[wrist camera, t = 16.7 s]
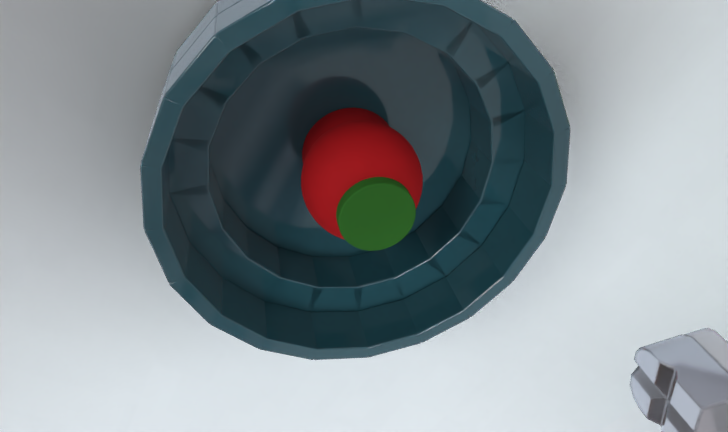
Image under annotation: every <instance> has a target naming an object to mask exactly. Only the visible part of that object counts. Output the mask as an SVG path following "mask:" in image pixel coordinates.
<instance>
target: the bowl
mask: <svg viewBox="0 0 728 432" xmlns="http://www.w3.org/2000/svg"><path fill="white" fill-rule="evenodd" d="M344 108H362V109H366V110H369V111H372V112H374V113H375V114H377V115H379V116H380V117H381V118H383V119H384V120H385V121H386V122H387V124H388V125H389V126H390V127H391V128H393V129H394V130H396V131H397V132H398V133H400V134H401V135H402V136H403V137H404V138H405V139H406V140H407V141H408V142H409V143H410V145H411V146H412V147H413V149H414V151H415V153H416V154H417V157H418V159H419V162H420V165H421V169H422V175H423V186H422V194H421V197H420V201H419V203H418V206H417V208H416V216H415V221H414V224H413V226H412V228H411V230H410V231H409V233H408V234H407V235H406V236H405V237H404V238H403V239H402V240H401V241H399V242H398V243H397V244H395V245H393V246H391V247H389V248H386V249H382V250H376V251H367V250H362V249H358V248H356V247H354V246H352V245H351V244H349V243H348V242H347V241H346V240H344V239H341V238H339V237H336V236H334V235H332V234H331V233H329V232H328V231H326V230H325V229H324V228H322V227H321V226H320V225H319V224H318V223H317V222H316V221H315V219H314V218H313V217H312V215H311V214H310V212H309V210H308V209H307V207H306V204H305V201H304V198H303V195H302V189H301V174H302V168H303V160H302V149H303V144H304V141H305V138H306V136H307V134H308V132H309V131H310V129H311V128H312V127H313V125H314V124H315V123H316V122H317V121H318V120H320V119H321V118H322V117H324V116H325V115H327V114H329V113H331V112H333V111H336V110H339V109H344ZM569 140H570V125H569V122H568V118H567V115H566V111H565V108H564V104H563V101H562V97H561V94H560V90H559V87H558V83H557V80H556V76H555V73H554V71H553V68H552V67H551V66H550V64H549V63H548V62H547V61H546V59H545V58H544V57H543V56H542V54H541V53H540V52H539V50H538V49H537V48H536V47H535V45H534V44H533V43H532V41H531V40H530V39H529V38H528V36H527V35H526V34H525V33H524V31H523V30H522V29H521V27H520V26H519V25H518V24H517V22H516V21H515V20H513V19H512V18H511V17H509V16H508V15H506V14H504V13H502V12H501V11H499V10H497V9H495V8H494V7H492V6H490V5H488V4H487V3H485V2H483V1H481V0H219V1H218V2H216V3H215V4H214V6H213V7H212V8H211V9H210V11H209V12H208V13H207V14H206V15H205V17H204V18H203V19H202V20H201V22H200V23H199V24H198V25H197V27H196V28H195V29H194V30H193V32H192V33H191V34H190V35H189V36H188V38H187V39H186V40H185V41H184V43H183V44H182V45H181V46H180V48H179V49H178V50H177V53H176V54H175V56H174V59H173V62H172V65H171V68H170V71H169V74H168V77H167V80H166V83H165V86H164V89H163V92H162V94H161V97H160V100H159V103H158V106H157V109H156V113H155V116H154V120H153V123H152V126H151V130H150V133H149V137H148V140H147V143H146V147H145V150H144V153H143V157H142V160H141V165H140V172H141V190H142V208H143V226H144V230H145V233H146V235H147V237H148V239H149V242H150V244H151V246H152V248H153V250H154V252H155V254H156V257H157V259H158V261H159V263H160V265H161V267H162V269H163V272H164V274H165V276H166V278H167V280H168V282H169V283H170V286H171V287H172V288H173V289H174V290H175V291H177V292H178V293H179V294H180V295H181V296H182V297H183V298H184V299H185V300H186V301H187V302H188V303H189V304H190V305H191V306H192V307H193V308H194V309H195V310H196V311H197V312H198V313H199V314H200V315H201V316H202V317H203V318H204V319H205V320H206V321H207V322H208V323H209V324H211V325H212V326H214V327H216V328H218V329H220V330H222V331H224V332H226V333H228V334H230V335H232V336H234V337H236V338H238V339H240V340H242V341H244V342H246V343H248V344H250V345H252V346H254V347H256V348H258V349H261V350H265V351H270V352H276V353H281V354H286V355H291V356H296V357H301V358H306V359H311V360H313V359H314V360H322V359H345V358H367V357H372V356H376V355H379V354H383V353H387V352H390V351H394V350H398V349H401V348H405V347H409V346H412V345H416V344H420V343H421V342H424V341H426V340H428V339H430V338H432V337H434V336H436V335H438V334H440V333H442V332H444V331H446V330H448V329H449V328H451V327H453V326H455V325H457V324H459V323H461V322H463V321H465V320H467V319H469V318H470V317H472V316H473V315H474V314H475V313H476V312H478V311H479V310H480V309H481V308H482V307H484V306H485V305H486V304H487V303H488V302H489V301H491V300H492V299H493V298H494V297H495V296H497V295H498V294H499V293H500V292H501V291H503V290H504V289H505V288H506V287H507V286H509V285H510V284H511V283H512V281H514V280H515V278H516V277H517V276H518V274H519V273H520V271H521V270H522V269H523V267H524V266H525V265H526V263H527V262H528V261H529V259H530V258H531V257H532V255H533V254H534V253H535V251H536V250H537V249H538V247H539V246H540V244H541V243H542V242H543V240H544V239H545V237H546V236H547V233H548V230H549V228H550V225H551V223H552V220H553V218H554V215H555V213H556V210H557V207H558V205H559V202H560V200H561V197H562V195H563V192H564V190H565V187H566V184H567V169H568V154H569Z"/></svg>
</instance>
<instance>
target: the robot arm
mask: <svg viewBox="0 0 728 432" xmlns="http://www.w3.org/2000/svg"><path fill="white" fill-rule="evenodd" d="M634 360H635V362H636V363H637V364H638V365H639V366H638V367H637V368H636V370H635V371H634V372H633V373H632V374H631V381H630V387H631V391H632V394H633V398H634V400H635V401H636V403H637V405H638V407H639V409H640V410H641V411H642V413H643V414H644V415H645V417H646V418H647V419H649V420H651V421H653V422H655V423H657V424H659V425H661V432H728V342H727V341H726V340H725V339H724V338H723V337H722V336H720V335H719V334H718V333H717V332H716V331H714V330H712V329H710V328H704V329H700V330H697V331H694V332H690V333H687V334H684V335H678V336H675V337H672V338H669V339H666V340H663V341H660V342H656V343H653V344H650V345H647V346H644V347H641V348H639V349H638V350H637V351H636V354H635V358H634Z"/></svg>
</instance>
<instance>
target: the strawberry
mask: <svg viewBox="0 0 728 432" xmlns="http://www.w3.org/2000/svg"><path fill="white" fill-rule="evenodd" d="M302 160H303V168H302V174H301V189H302V195H303V198H304V201H305V204H306V207H307V209H308V210H309V212H310V214H311V215H312V217H313V218H314V219H315V221H316V222H317V223H318V224H319V225H320V226H321V227H322V228H324V229H325V230H326V231H328V232H329V233H331V234H332V235H334V236H336V237H339V238H341V239H344V240H346V241H347V242H348V243H349V244H351V245H352V246H354V247H356V248H358V249H362V250H367V251H376V250H382V249H386V248H389V247H391V246H393V245H395V244H397V243H398V242H399V241H401V240H402V239H403V238H404V237H405V236H406V235H407V234H408V233H409V231H410V230H411V228H412V226H413V224H414V221H415V216H416V208H417V206H418V203H419V201H420V197H421V194H422V186H423V175H422V169H421V165H420V162H419V159H418V157H417V154H416V153H415V151H414V149H413V147H412V146H411V145H410V143H409V142H408V141H407V140H406V139H405V138H404V137H403V136H402V135H401V134H400V133H398V132H397V131H396V130H394V129H393V128H391V127H390V126H389V125H388V124H387V122H386V121H385V120H384V119H383V118H381V117H380V116H379V115H377V114H375V113H374V112H372V111H369V110H366V109H362V108H344V109H339V110H336V111H333V112H331V113H329V114H327V115H325V116H324V117H322V118H321V119H320V120H318V121H317V122H316V123H315V124H314V125H313V127H312V128H311V129H310V131H309V132H308V134H307V136H306V138H305V141H304V144H303V149H302Z"/></svg>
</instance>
